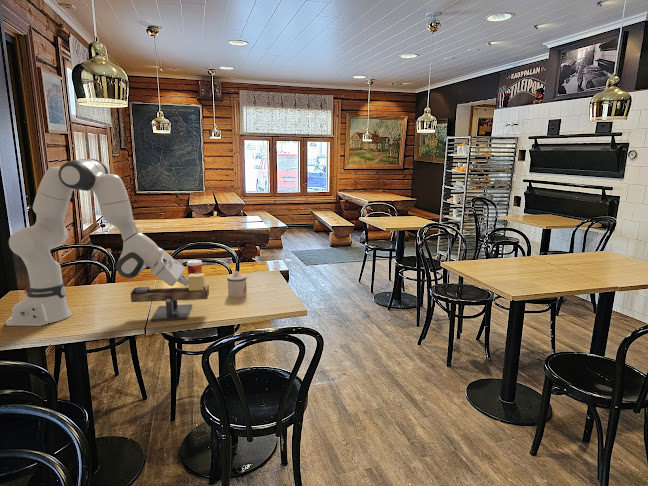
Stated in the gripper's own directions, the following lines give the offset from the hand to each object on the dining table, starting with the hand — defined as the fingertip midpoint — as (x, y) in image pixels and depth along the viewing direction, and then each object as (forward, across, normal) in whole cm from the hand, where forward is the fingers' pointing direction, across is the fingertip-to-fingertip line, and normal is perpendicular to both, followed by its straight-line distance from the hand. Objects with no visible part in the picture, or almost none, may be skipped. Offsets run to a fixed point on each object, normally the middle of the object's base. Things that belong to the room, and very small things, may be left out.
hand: (187, 284), depth 176 cm
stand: (+4, 0, -14) cm, 15 cm away
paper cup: (+8, -35, -11) cm, 38 cm away
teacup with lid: (+23, -22, +4) cm, 32 cm away
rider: (+6, 0, 0) cm, 6 cm away
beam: (0, 0, -10) cm, 10 cm away
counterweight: (-10, 0, -16) cm, 19 cm away
